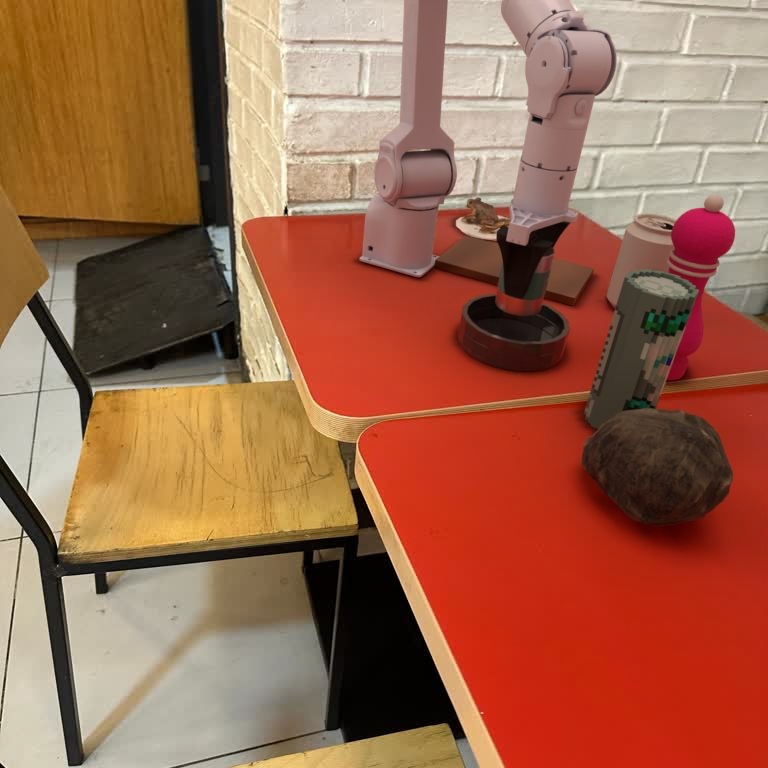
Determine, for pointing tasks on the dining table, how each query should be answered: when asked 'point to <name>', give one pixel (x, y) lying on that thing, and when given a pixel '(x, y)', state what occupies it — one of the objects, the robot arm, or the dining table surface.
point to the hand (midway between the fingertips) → (521, 286)
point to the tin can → (534, 294)
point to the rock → (659, 465)
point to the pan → (512, 335)
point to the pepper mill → (697, 265)
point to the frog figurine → (481, 220)
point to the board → (487, 261)
